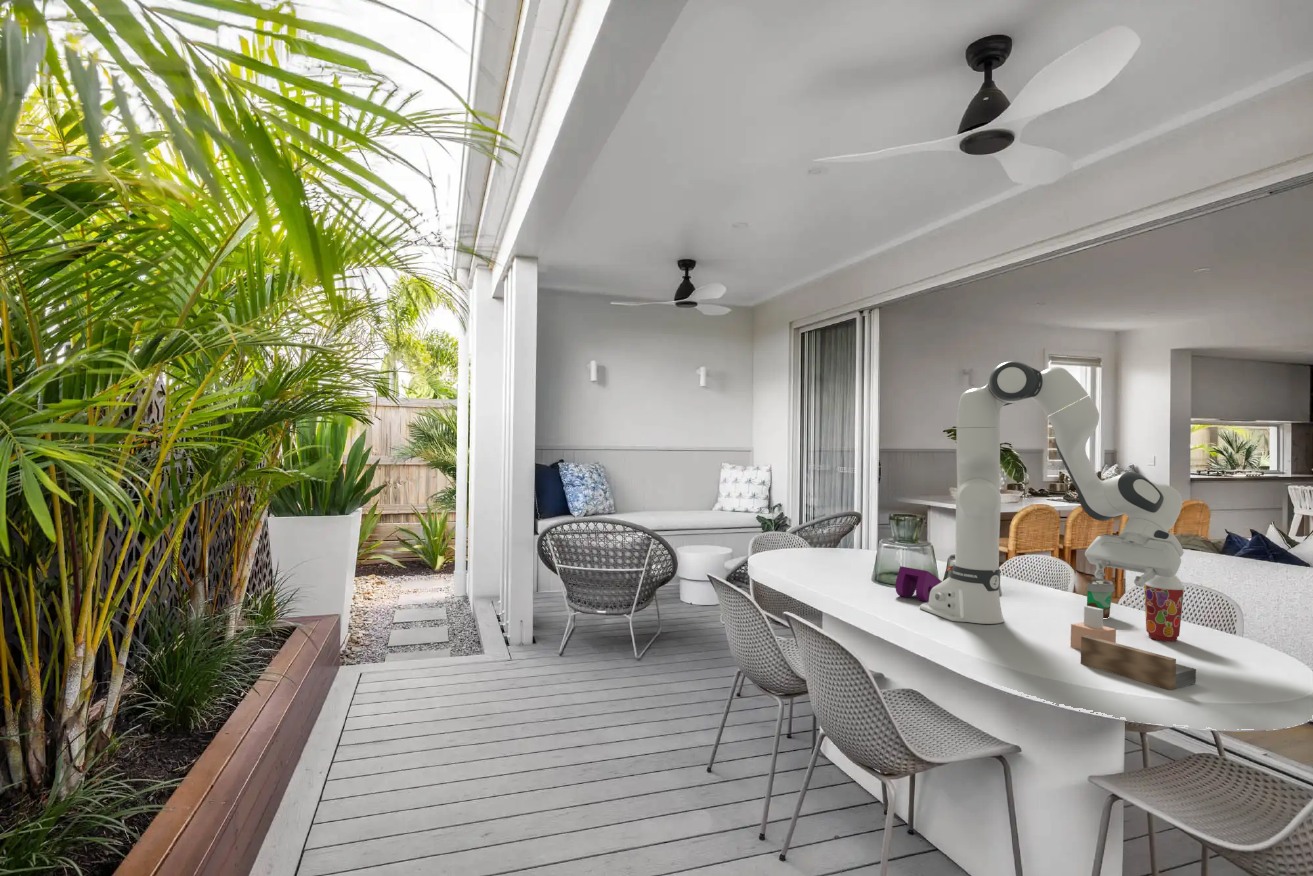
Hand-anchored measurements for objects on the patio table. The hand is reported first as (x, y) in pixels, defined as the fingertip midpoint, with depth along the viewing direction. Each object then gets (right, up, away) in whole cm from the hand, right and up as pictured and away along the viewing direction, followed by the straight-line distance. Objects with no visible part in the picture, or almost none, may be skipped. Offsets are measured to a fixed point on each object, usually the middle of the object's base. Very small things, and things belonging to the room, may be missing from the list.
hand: (1117, 580), depth 171 cm
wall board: (-10, -15, -21) cm, 28 cm away
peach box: (-9, -16, -4) cm, 18 cm away
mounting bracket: (-28, -15, +49) cm, 59 cm away
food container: (+14, -16, +28) cm, 35 cm away
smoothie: (+16, -16, +6) cm, 23 cm away
